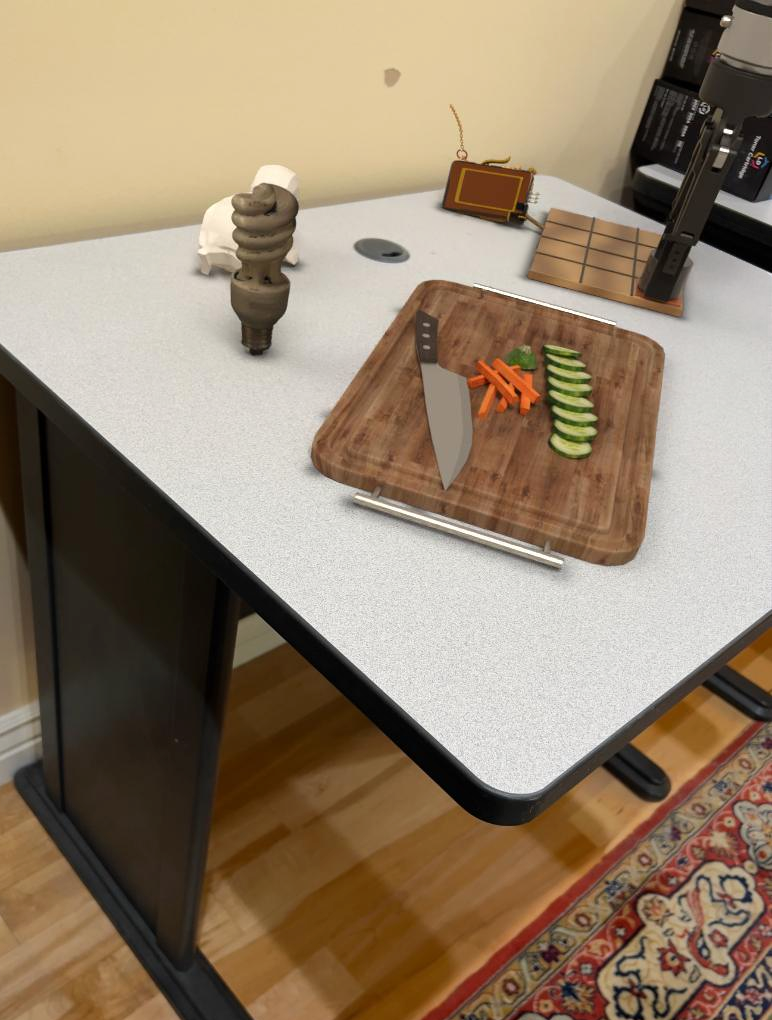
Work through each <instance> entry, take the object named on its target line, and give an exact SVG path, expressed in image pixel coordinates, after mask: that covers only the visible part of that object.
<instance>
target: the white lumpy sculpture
mask: <svg viewBox="0 0 772 1020" xmlns="http://www.w3.org/2000/svg"><path fill="white" fill-rule="evenodd" d="M299 182H300V181H299V178H298V176H297V173H295V172H294V171H293V170H291V169H290V168H287V167H286V166H284V165H280V164H264V165H262V166H260V167H259V169H258V171H257V172H256V174H255V176H254V178H253V181H252V182H251V184H250V186H249V191H247V192H246V193H251V194H252V193H253V189H254V187H255V186H258V185H259V184H261V183H268V184H274V185H278V186H280V187H283V188H285V189H287V190H288V191H290V192H291V193H292V194H293V195H294V196H295V198H296V199H297V201H298V202H299V200H300V199H299V198H300V183H299ZM239 193H240V192H238V193H234V194H233V195H231V196H226V197H223V198H222V200H219V201H217V202H215V203H214V204H212V205H211V206H210V207H208V208H207V209H206V211H205V213H204V215H203V218H202V223H201V226H200V232H199V236H198V250H197V254H198V257H199V259H200V261H199V265H198V266H199V268H200V273H201V274H204V275H207V276H209V275H210V271H211V268H212V267H216V268H221V269H224V270H225V271H227V272H230V273H231V274H232V273H233V272H234V271H235V270H236V269H239V268H241V267H242V263H241V261H240V260H238V258H237V257H236V250H237V249H238V244H237V243H236V242H235V241H234V240H233V238H232V233H233V231H234V229H235V228H236V226H235V225H234V224H233V222H232V219H231V216H232V213H233V212H234V210H235V209H234V208H233V206H232V204H231V200H232V197H233V196H234V195H236V194H239ZM299 259H300V256H299V253H298V252H297V250H296V248H295V246H294V245H293V246H292V248H291V250H290V251H289V252H288V254H287V256H286V257H285V258H284V260H283V262H286V263H288V264H290V265H292V266H296V264H297V263H298V261H299Z"/></svg>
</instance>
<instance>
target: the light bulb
mask: <svg viewBox="0 0 772 1020" xmlns="http://www.w3.org/2000/svg"><path fill="white" fill-rule="evenodd" d="M238 193H239V194H237V193H235V194H236V195H235V194H233V195H234V196H233V195H232V196H233V197H232V200H231V204H232V206H233V208H234V209H235V210H234V212H233V213H232V216H231V219H232V222H233V224H234V225H235V226H236V228H235V229H234V231H233V233H232V238H233V240H234V241H235V242H236V243H237V244H238V249H237V250H236V257H237V258H238V260H240V261H241V263H242V267H241V268H239V269H236V270H235V271H234V272H233V273H232V272H231V275H230V283H229V284H230V285H229V286H230V287H229V288H230V294H229V295H230V305H231V309H232V310H233V312H234V313H235V315H236V316H237V318H238V321H240V330H241V340H240V344H241V345H242V346H243V347H244V348H246V349H248V351H249V354H250V355H252V356H262V355H263V354H264V352H265V351H269V349H271V347H272V344H273V341H272V340H273V331H274V326H275V325H276V324H277V323H278V322H279V321H280V320H281V319H282V318H283V317H284V316H285V314H286V312H287V309H288V305H289V297H290V292H291V280H290V278H289V277H288V276H287V275H286V274H285V273H283V272H282V264H283V262H284V258H285V257H286V256H287V254H288V252H289V251H290V250H291V248H292V246H294V236H293V235H294V233H295V232H296V229H297V219H296V218H297V216H298V214H299V208H300V204H299V200H298V201H297V199H296V198H295V196H294V195H293V194H292V193H291V192H290V191H288V190H287V189H285V188H283V187H280V186H278V185H274V184H268V183H261V184H259V185H258V186H255V187H254V189H253V193H252V194H251V193H247V192H238Z"/></svg>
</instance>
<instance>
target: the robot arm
mask: <svg viewBox="0 0 772 1020" xmlns="http://www.w3.org/2000/svg"><path fill="white" fill-rule="evenodd" d="M731 11H732V15H723V16H722V17H721V20H720V22H719V25H720V27H722V28H725V29H724V30H723V32H722V34H721V37H720V39H719V42H718V45H717V48H716V49H717V53H719V55H720V56H717V57H715V58H714V59H712V60H711V61H710V63H709V66H708V69H707V71H706V73H705V76H704V79H703V81H702V84H701V86H700V89H699V92H698V97H699V99H700V101H701V102H703V103H704V104H705V105H707V106H709V107H711V108H714V109H715V111H714V113H713V115H711V114H709V115H707V118H706V119H705V120H704V121H703V123H702V126H701V128H700V131H699V136H698V138H699V139H698V141H697V142H696V145H695V147H694V149H693V152H692V157H691V159H690V162H689V164H688V167H687V169H686V172H685V174H684V175H683V176H684V177H683V178H682V182H681V183H680V186H679V189H678V191H677V193H676V196H675V198H674V200H673V201H672V203H671V209H672V210H671V211H670V212H669V220H667V223H666V224H665V227H664V230H663V232H662V234H661V235H662V237H661V239H660V242H659V244H658V247H657V249H663V250H662V252H661V255H660V257H659V260H658V262H657V264H656V267H655V269H654V272H653V274H652V276H651V279H650V281H649V284H648V286H647V288H646V291H645V293H644V296H646V297H650V298H654V299H657V300H661V301H665V302H668V300H669V298H670V296H671V293H672V291H673V289H674V286H675V284H676V282H677V280H678V277H679V275H680V273H681V270H682V268H683V266H684V264H685V261H686V259H687V257H689V254H690V252H691V250H692V247H696V246H697V244H698V243H699V241H700V236H701V235H702V232H703V230H704V228H705V225H706V222H707V221H708V218H709V216H710V214H711V211H712V209H713V208H714V204H715V202H716V200H717V197H718V196H719V193H720V191H721V188H722V186H723V184H724V181H725V179H726V176H727V175H728V174H729V170H730V169H731V167H732V164H733V163H734V161H735V160H736V159H737V157H738V151H740V148H741V146H742V143H743V141H744V138H745V134H743V128H742V127H743V123H744V122H745V119H746V118H750V117H753V118H756V119H758V118H759V119H761V118H766V117H769V116H770V115H771V114H772V0H735V1H734V5H733V7H732V10H731Z"/></svg>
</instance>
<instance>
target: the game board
mask: <svg viewBox="0 0 772 1020" xmlns="http://www.w3.org/2000/svg"><path fill="white" fill-rule="evenodd" d="M544 226H545V228H547V229H543V230H542V232H541V236H540V238H539V242H538V245H537V248H536V250H535V254H534V257H533V260H532V263H531V266H530V269H529V271H528V274H527V279H530V280H534V281H537V282H541V283H545V284H549V285H553V286H557V287H561V288H565V289H569V290H573V291H576V292H579V293H584V294H588V295H591V296H595V297H600V298H604V299H607V300H611V301H615V302H619V303H623V304H627V305H631V306H635V307H639V308H642V309H647V310H649V311H654V312H658V313H662V314H666V315H670V316H674V317H676V318H677V317H678V318H681V316H682V314H683V312H684V289H683V290H682V293H681V295H680V297H679V298H678V299H677V300H673V301H668V302H665V301H661V300H657V299H654V298H650V297H646V296H644V293H643V292H641V291H640V290H639V289H638V287H637V284H638V282H639V279H640V277H641V274H642V272H643V269H644V267H645V264H646V262H647V259H648V256H649V254H650V252H651V251H652V250H654V249H657V247H658V244H659V242H660V239H661V237H662V234H661V233H657V232H652V231H649V230H645V229H641V228H640V227H632V226H629V225H624V224H620V223H616V222H613V221H608V220H605V219H600V218H597V217H596V216H593V217H592V216H589V215H583V214H579V213H575V212H571V211H568V210H564V209H560V208H555V207H552V206H551V207H550V208H549V212H548V214H547V218H546V221H545V224H544Z"/></svg>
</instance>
